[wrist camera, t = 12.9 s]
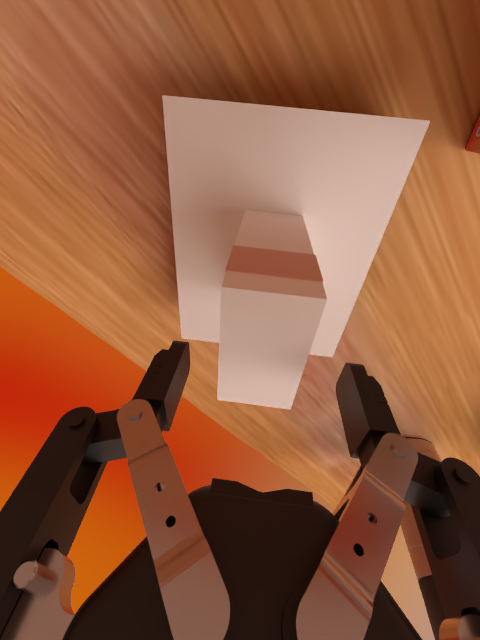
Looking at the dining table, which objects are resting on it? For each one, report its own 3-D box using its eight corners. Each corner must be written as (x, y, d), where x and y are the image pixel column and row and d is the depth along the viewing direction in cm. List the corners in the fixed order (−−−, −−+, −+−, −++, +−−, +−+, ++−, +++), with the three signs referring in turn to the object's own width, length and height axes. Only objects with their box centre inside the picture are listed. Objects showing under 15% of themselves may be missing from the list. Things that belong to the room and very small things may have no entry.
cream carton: (303, 215, 21) (328, 298, 11) (284, 301, 25) (291, 410, 16) (244, 208, 21) (220, 285, 11) (237, 295, 26) (216, 400, 16)
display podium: (325, 328, 33) (332, 357, 29) (192, 312, 34) (181, 338, 30) (400, 120, 20) (430, 120, 16) (183, 99, 21) (162, 95, 17)
